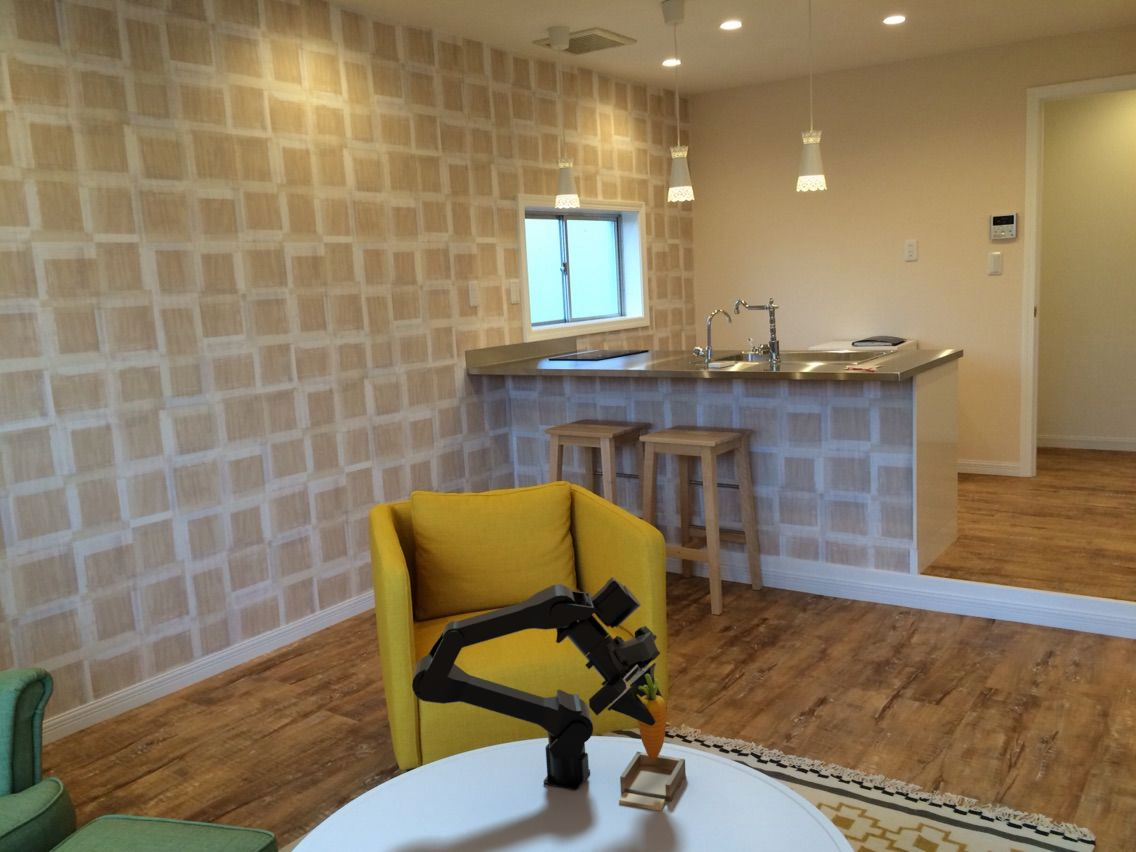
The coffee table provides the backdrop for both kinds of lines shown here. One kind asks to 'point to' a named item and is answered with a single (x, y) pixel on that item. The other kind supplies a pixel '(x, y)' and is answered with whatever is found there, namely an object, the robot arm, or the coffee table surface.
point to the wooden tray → (651, 780)
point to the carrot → (657, 708)
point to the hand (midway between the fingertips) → (659, 717)
